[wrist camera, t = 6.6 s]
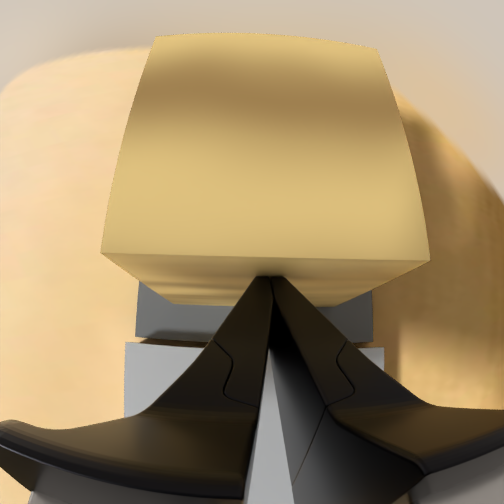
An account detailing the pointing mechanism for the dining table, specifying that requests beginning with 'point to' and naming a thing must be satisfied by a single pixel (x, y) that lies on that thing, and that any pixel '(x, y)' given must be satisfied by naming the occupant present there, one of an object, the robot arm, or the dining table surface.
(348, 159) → the ochre block
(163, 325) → the rubber pad
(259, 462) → the block
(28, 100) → the dining table surface
